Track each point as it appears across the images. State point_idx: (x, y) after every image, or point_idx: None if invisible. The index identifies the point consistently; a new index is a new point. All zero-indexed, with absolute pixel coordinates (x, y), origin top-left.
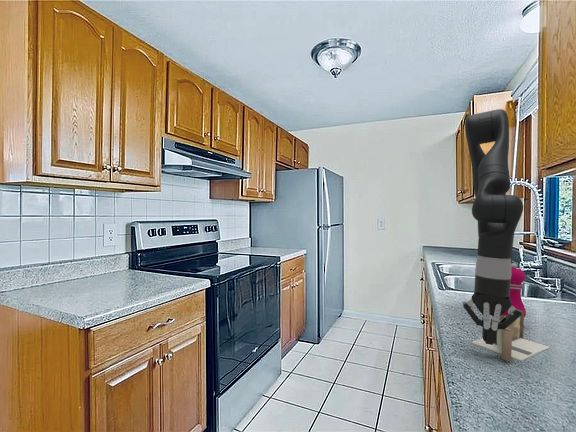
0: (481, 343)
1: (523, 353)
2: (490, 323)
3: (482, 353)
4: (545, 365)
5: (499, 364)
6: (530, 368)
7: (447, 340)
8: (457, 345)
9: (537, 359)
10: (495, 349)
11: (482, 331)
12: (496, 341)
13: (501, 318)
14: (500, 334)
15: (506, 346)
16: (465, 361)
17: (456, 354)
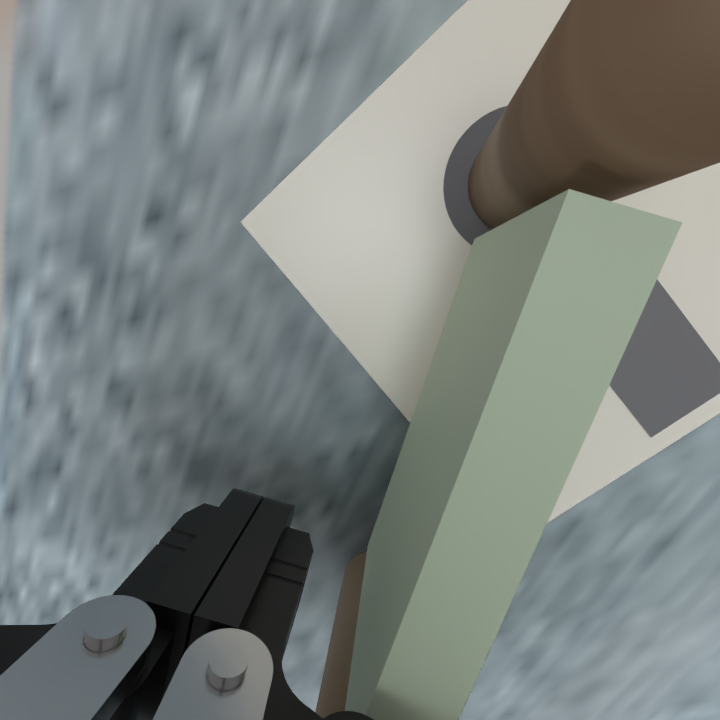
0: (326, 238)
1: (628, 407)
2: (164, 713)
3: (262, 438)
4: (672, 578)
5: (311, 602)
6: (508, 635)
7: (43, 203)
8: (106, 309)
9: (689, 479)
10: (400, 362)
11: (142, 566)
12: (483, 216)
13: (705, 157)
14: (412, 500)
15: None
16: (97, 588)
17: (63, 490)
